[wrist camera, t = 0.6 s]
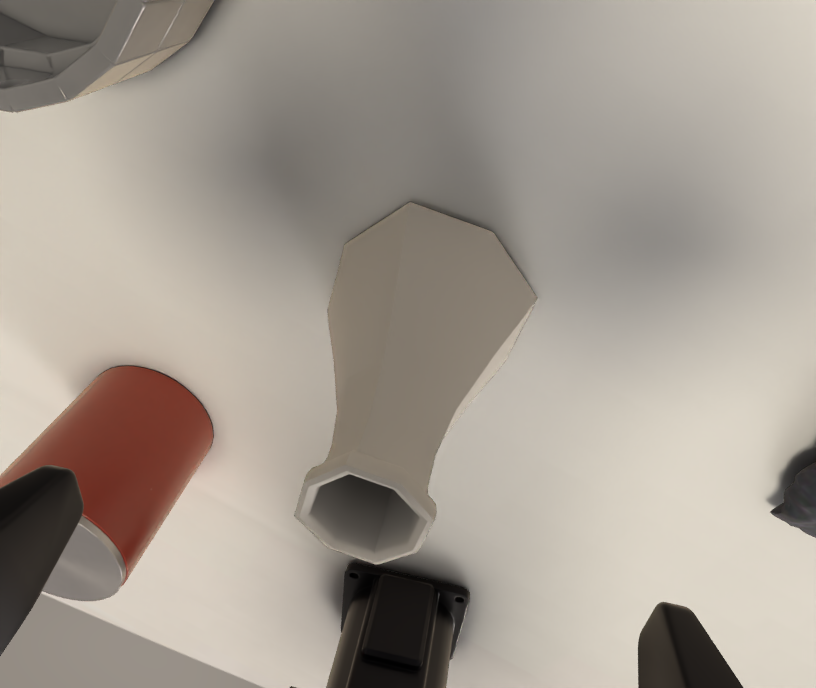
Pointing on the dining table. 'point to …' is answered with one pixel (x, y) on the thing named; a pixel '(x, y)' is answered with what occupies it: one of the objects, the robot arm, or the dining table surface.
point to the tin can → (119, 472)
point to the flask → (406, 372)
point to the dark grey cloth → (800, 502)
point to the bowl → (86, 45)
